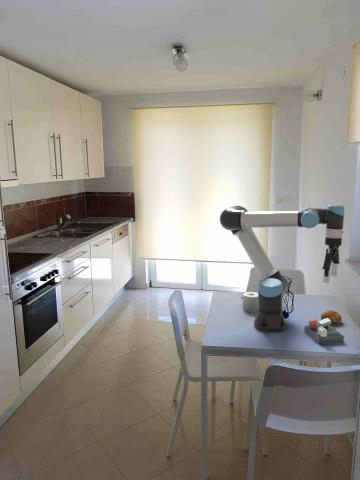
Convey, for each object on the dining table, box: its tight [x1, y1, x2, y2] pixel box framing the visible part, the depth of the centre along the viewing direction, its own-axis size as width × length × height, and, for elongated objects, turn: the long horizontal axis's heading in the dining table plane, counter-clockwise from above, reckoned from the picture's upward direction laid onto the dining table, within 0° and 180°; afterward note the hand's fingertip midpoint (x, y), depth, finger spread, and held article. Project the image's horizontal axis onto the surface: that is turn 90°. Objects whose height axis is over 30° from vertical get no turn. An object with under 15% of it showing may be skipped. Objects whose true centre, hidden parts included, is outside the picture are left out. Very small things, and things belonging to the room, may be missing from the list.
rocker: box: [317, 318, 332, 327], centre depth 181 cm, size 5×4×2 cm
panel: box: [303, 324, 345, 345], centre depth 177 cm, size 12×14×4 cm
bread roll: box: [320, 309, 342, 326], centre depth 194 cm, size 10×10×8 cm
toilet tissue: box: [240, 291, 258, 313], centre depth 215 cm, size 9×13×9 cm
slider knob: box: [318, 326, 327, 337], centre depth 171 cm, size 2×4×4 cm, turn 9°
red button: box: [308, 318, 318, 326], centre depth 180 cm, size 4×4×2 cm
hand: (330, 279), depth 187 cm, fingers open, 13 cm apart
